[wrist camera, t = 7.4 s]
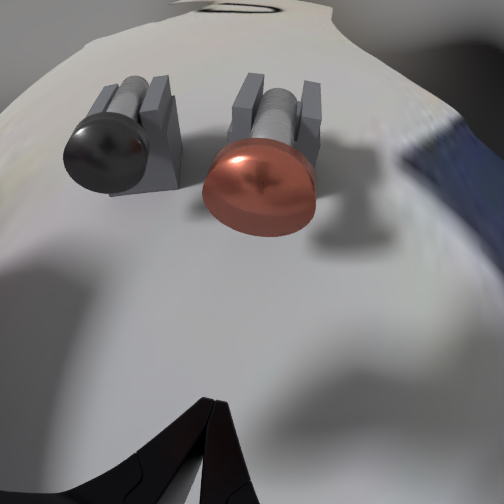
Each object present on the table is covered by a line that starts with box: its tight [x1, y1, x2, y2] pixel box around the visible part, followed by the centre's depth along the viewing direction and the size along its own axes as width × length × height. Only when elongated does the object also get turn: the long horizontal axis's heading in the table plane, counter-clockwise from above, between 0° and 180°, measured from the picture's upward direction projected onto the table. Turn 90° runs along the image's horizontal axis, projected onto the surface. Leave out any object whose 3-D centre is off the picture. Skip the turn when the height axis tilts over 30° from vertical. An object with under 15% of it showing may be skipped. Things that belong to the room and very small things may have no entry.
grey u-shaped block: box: [85, 75, 182, 197], centre depth 20 cm, size 6×6×8 cm
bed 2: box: [228, 73, 322, 168], centre depth 20 cm, size 6×6×8 cm
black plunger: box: [63, 76, 150, 194], centre depth 16 cm, size 9×5×5 cm, turn 6°
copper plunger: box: [202, 88, 317, 237], centre depth 15 cm, size 9×5×5 cm, turn 170°
